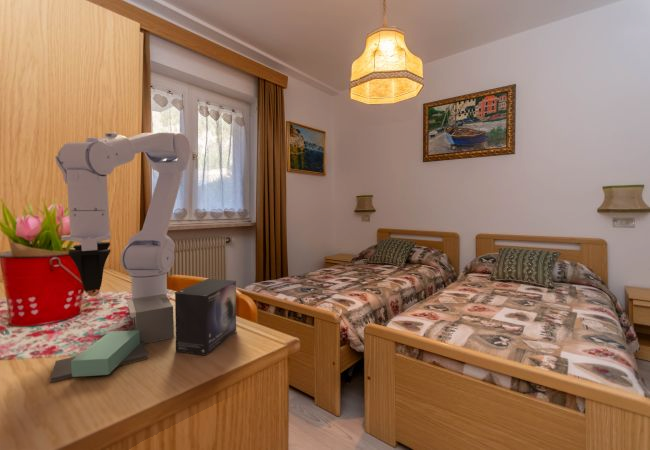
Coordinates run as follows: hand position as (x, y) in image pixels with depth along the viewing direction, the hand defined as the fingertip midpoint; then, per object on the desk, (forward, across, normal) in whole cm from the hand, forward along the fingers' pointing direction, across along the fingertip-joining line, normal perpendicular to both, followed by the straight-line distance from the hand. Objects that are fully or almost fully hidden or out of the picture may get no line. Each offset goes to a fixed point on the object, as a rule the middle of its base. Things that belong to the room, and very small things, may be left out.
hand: (93, 285), depth 57 cm
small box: (+11, +12, +17) cm, 23 cm away
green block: (+9, +10, 0) cm, 13 cm away
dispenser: (+10, +2, +9) cm, 14 cm away
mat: (+10, +10, +1) cm, 14 cm away
